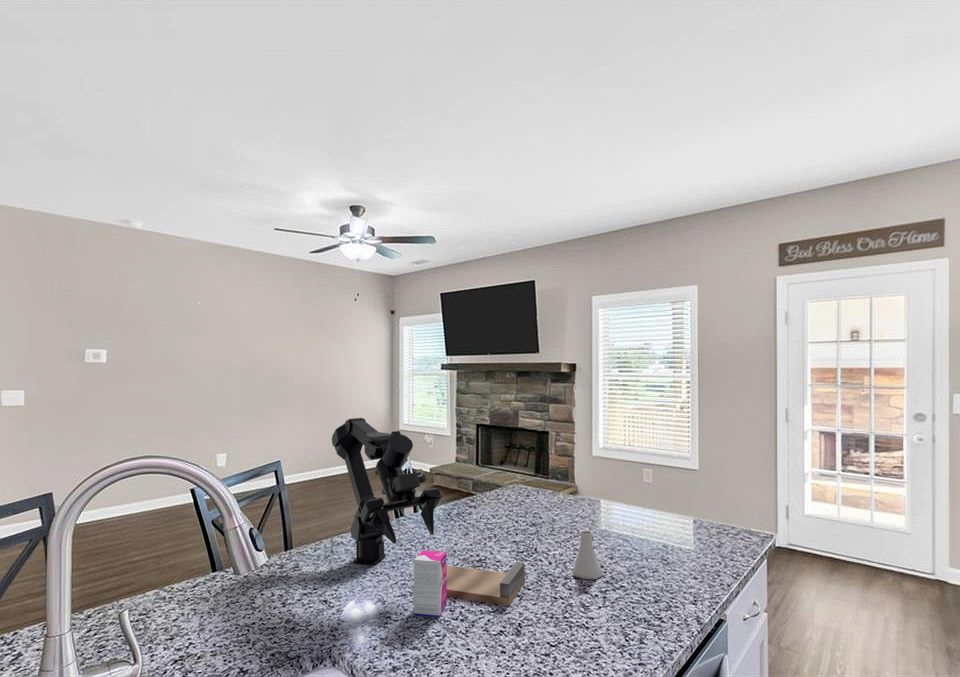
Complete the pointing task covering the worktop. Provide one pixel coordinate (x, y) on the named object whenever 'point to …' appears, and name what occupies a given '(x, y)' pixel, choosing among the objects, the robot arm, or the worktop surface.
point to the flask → (586, 558)
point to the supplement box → (430, 583)
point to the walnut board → (485, 584)
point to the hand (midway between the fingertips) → (414, 538)
